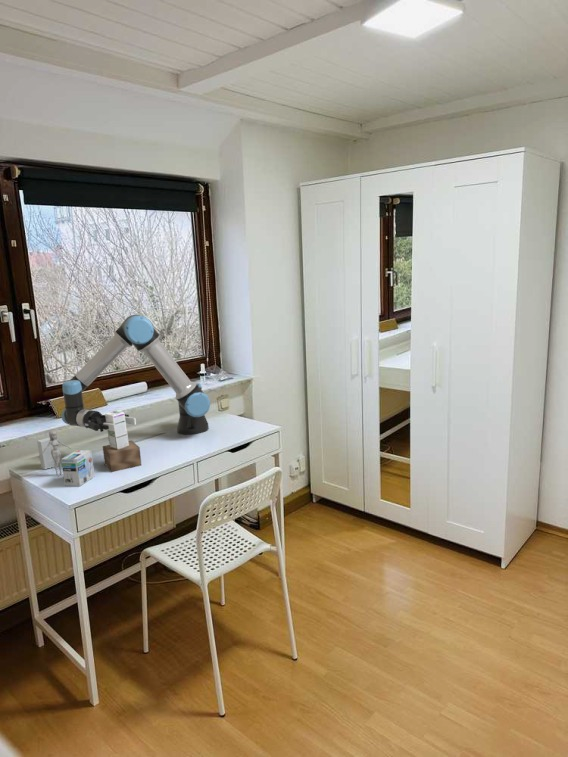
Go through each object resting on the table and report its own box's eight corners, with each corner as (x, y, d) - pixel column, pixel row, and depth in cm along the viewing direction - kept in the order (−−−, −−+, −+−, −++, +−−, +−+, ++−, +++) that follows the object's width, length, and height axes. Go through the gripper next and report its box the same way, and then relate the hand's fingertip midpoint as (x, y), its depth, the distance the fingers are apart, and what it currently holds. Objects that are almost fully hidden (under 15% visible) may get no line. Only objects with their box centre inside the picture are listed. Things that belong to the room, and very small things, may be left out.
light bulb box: (80, 486, 209) (76, 459, 207) (64, 486, 211) (60, 458, 209) (95, 476, 220) (91, 449, 217) (79, 476, 221) (76, 449, 219)
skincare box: (55, 464, 237) (51, 436, 235) (59, 466, 234) (55, 438, 232) (40, 468, 233) (36, 440, 231) (44, 470, 230) (40, 442, 228)
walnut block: (133, 458, 239) (131, 440, 238) (141, 466, 229) (139, 447, 227) (104, 464, 233) (102, 446, 232) (111, 472, 223) (109, 453, 221)
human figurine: (45, 480, 218) (38, 435, 215) (41, 478, 221) (35, 434, 218) (75, 471, 226) (69, 428, 222) (72, 469, 229) (66, 427, 225)
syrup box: (129, 445, 230) (125, 411, 227) (117, 450, 225) (112, 415, 222) (121, 443, 233) (117, 409, 230) (109, 447, 229) (104, 413, 226)
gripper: (112, 421, 248) (147, 426, 235) (68, 434, 230) (103, 441, 217) (110, 404, 246) (145, 408, 233) (65, 416, 228) (101, 422, 216)
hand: (125, 424), depth 225 cm, fingers open, 9 cm apart
